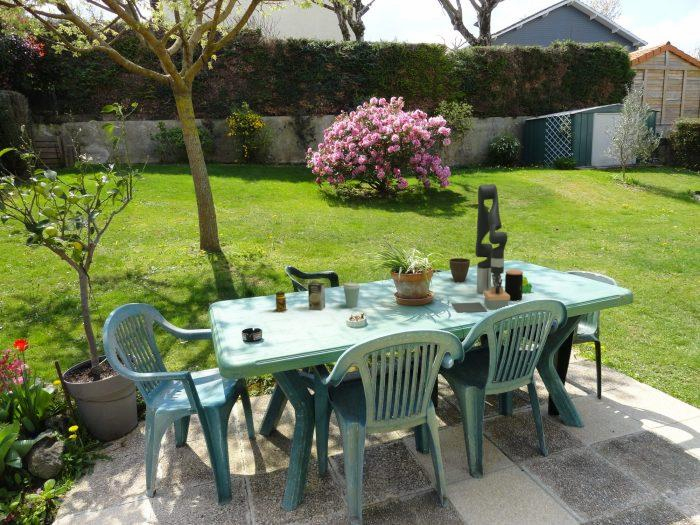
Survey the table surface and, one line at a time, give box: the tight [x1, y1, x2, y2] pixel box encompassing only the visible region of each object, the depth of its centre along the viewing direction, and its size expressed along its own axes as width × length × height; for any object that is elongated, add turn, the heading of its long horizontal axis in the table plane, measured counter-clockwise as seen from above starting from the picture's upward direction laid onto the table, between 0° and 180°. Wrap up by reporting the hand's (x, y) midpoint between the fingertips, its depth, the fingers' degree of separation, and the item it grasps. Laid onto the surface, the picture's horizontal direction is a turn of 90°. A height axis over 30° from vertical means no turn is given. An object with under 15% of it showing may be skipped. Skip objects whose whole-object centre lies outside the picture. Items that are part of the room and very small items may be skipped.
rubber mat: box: [450, 301, 488, 314], centre depth 305 cm, size 18×18×1 cm
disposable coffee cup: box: [342, 282, 361, 309], centre depth 315 cm, size 11×11×15 cm
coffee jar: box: [504, 269, 524, 302], centre depth 318 cm, size 11×11×18 cm
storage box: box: [484, 296, 509, 310], centre depth 306 cm, size 11×11×7 cm
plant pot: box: [448, 257, 471, 283], centre depth 365 cm, size 15×15×16 cm
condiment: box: [271, 290, 289, 313], centre depth 311 cm, size 7×8×12 cm
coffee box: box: [307, 281, 326, 311], centre depth 313 cm, size 9×6×16 cm
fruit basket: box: [522, 276, 533, 294], centre depth 333 cm, size 11×9×11 cm
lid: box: [482, 285, 510, 301], centre depth 304 cm, size 13×13×6 cm
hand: (496, 292), depth 305 cm, fingers closed on lid, 3 cm apart
